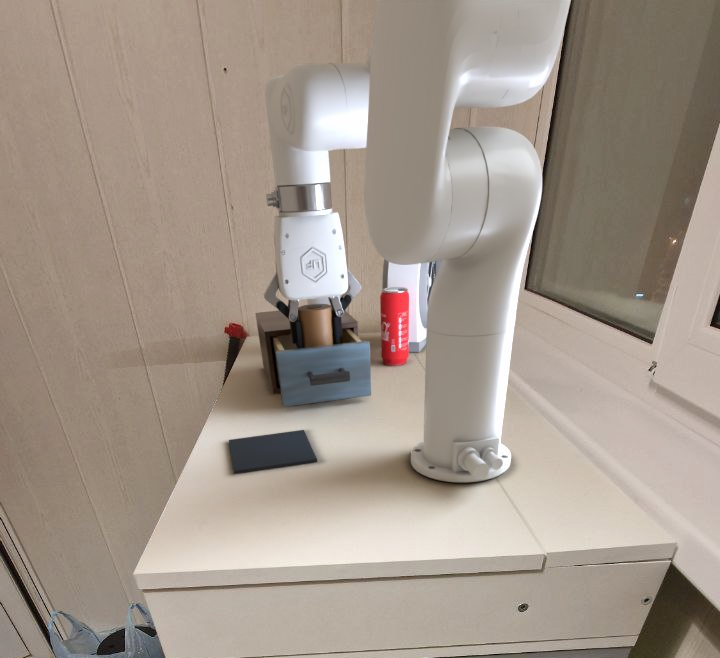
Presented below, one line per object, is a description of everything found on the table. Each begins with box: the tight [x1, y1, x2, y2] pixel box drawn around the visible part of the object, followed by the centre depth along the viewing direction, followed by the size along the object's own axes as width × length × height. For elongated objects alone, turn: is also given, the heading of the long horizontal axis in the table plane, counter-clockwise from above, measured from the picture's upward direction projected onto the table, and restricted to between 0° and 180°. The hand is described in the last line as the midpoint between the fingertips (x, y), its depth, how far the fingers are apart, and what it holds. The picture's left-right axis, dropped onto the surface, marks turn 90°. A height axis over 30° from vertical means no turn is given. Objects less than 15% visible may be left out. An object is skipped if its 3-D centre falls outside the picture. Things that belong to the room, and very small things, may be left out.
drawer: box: [271, 328, 372, 407], centre depth 90 cm, size 19×14×8 cm
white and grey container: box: [381, 258, 442, 353], centre depth 109 cm, size 18×8×20 cm, turn 162°
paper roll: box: [298, 304, 334, 348], centre depth 89 cm, size 5×5×11 cm
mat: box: [228, 429, 318, 474], centre depth 76 cm, size 11×11×1 cm
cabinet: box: [255, 307, 360, 394], centre depth 99 cm, size 16×16×10 cm
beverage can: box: [379, 287, 410, 367], centre depth 103 cm, size 5×5×12 cm
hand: (317, 344), depth 88 cm, fingers closed on paper roll, 5 cm apart
